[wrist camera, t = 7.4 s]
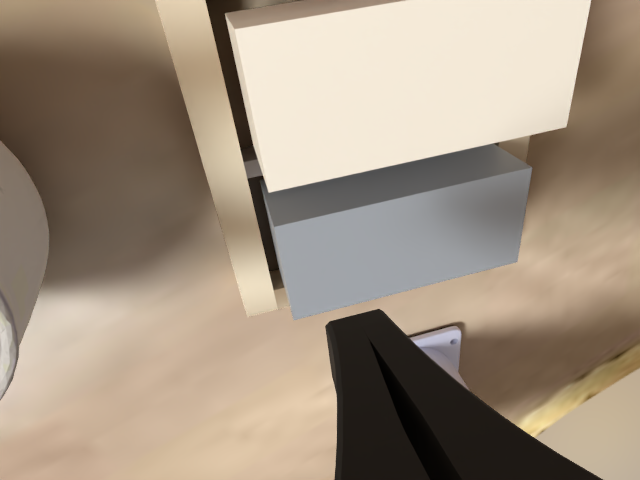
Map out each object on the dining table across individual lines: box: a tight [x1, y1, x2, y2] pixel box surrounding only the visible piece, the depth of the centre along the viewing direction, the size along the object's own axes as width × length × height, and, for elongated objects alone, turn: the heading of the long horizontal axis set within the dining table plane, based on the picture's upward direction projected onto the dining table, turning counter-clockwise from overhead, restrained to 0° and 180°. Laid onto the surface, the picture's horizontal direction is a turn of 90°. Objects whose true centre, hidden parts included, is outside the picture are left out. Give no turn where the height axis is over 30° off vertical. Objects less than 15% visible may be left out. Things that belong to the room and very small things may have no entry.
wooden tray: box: [155, 0, 530, 317], centre depth 17 cm, size 21×14×2 cm, turn 7°
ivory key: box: [225, 0, 591, 193], centre depth 14 cm, size 4×10×4 cm, turn 97°
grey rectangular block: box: [260, 143, 532, 320], centre depth 19 cm, size 4×10×4 cm, turn 97°
